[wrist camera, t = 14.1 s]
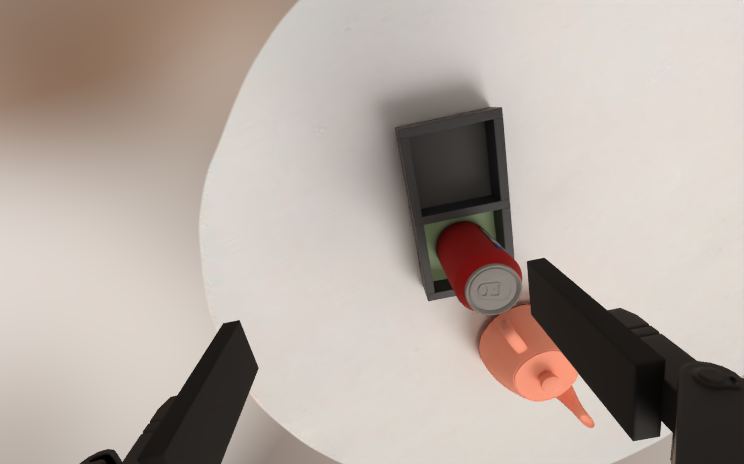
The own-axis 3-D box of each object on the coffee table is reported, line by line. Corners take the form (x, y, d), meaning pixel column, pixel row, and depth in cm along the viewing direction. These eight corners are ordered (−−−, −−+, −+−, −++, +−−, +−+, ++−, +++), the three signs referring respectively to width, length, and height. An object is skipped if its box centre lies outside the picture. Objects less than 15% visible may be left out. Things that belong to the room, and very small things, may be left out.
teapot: (522, 272, 47) (560, 311, 39) (590, 355, 52) (638, 406, 43) (450, 325, 50) (470, 373, 41) (522, 399, 55) (553, 457, 46)
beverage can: (486, 267, 46) (526, 319, 35) (434, 270, 46) (457, 324, 35) (489, 217, 44) (532, 255, 33) (434, 220, 44) (459, 260, 33)
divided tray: (394, 127, 41) (397, 129, 38) (490, 107, 40) (502, 107, 37) (423, 287, 48) (428, 301, 44) (505, 271, 47) (516, 284, 44)
